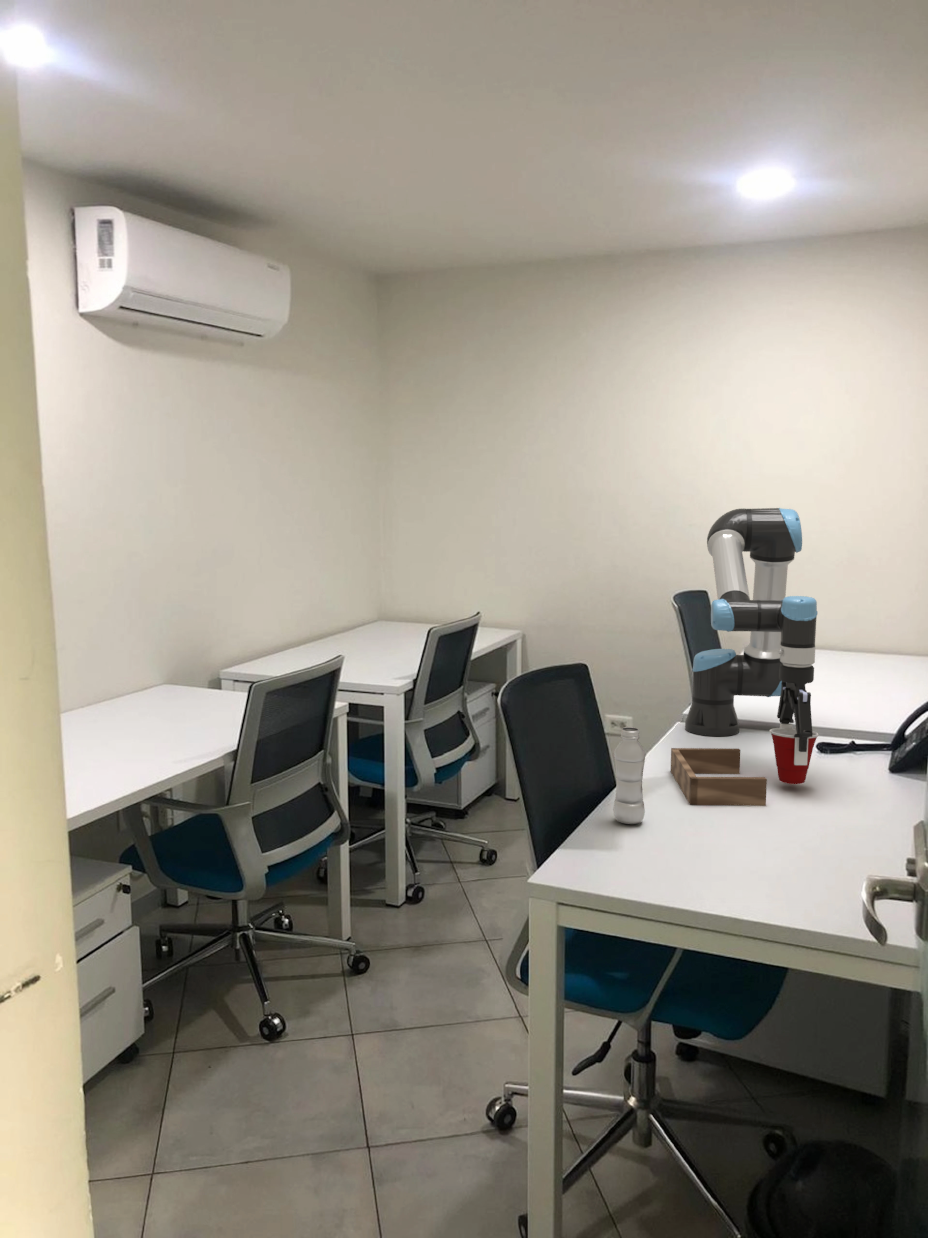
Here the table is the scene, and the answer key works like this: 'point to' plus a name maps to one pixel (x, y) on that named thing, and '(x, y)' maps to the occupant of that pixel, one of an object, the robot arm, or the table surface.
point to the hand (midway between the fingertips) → (792, 757)
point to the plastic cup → (790, 755)
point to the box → (715, 788)
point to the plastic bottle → (629, 778)
